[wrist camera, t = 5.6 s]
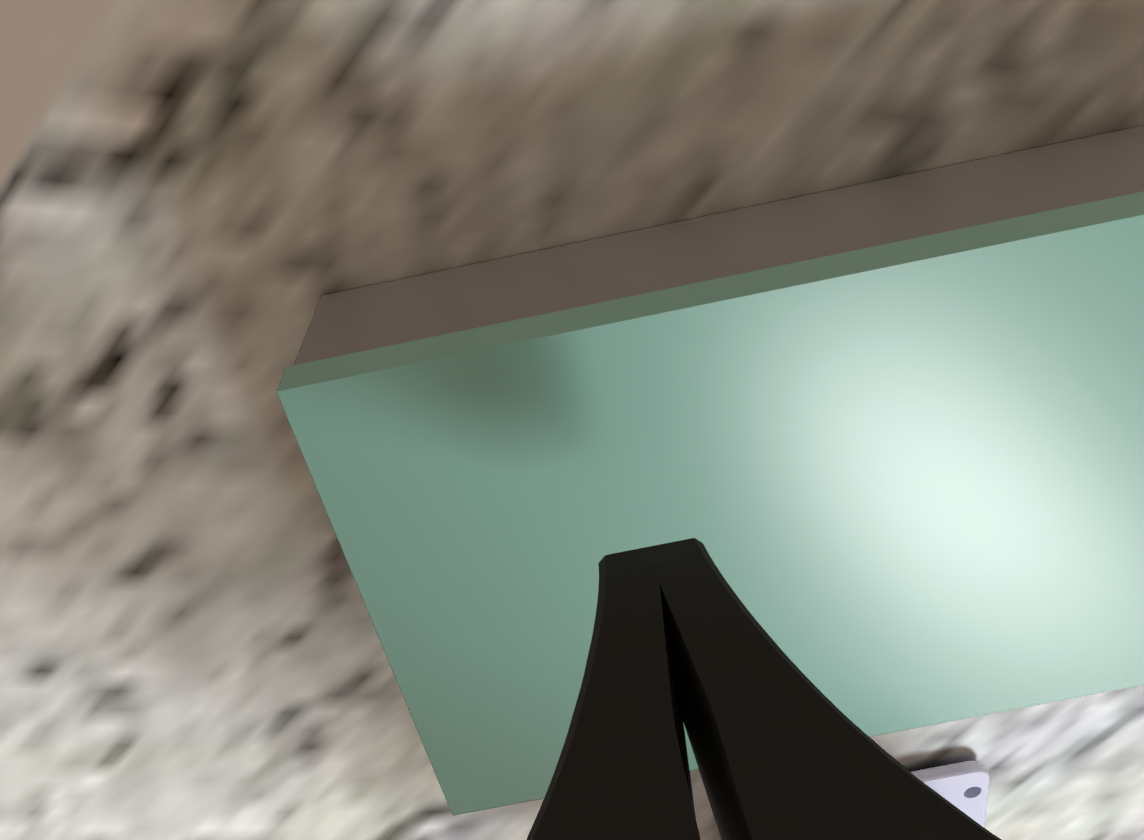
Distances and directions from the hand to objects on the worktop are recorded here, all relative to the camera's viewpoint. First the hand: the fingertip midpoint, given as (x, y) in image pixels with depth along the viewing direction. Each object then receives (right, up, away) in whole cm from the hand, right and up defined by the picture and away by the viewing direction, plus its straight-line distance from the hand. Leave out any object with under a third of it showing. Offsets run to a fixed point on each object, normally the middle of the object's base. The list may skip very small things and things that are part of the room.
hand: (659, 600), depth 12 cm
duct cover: (+6, +1, +4) cm, 7 cm away
